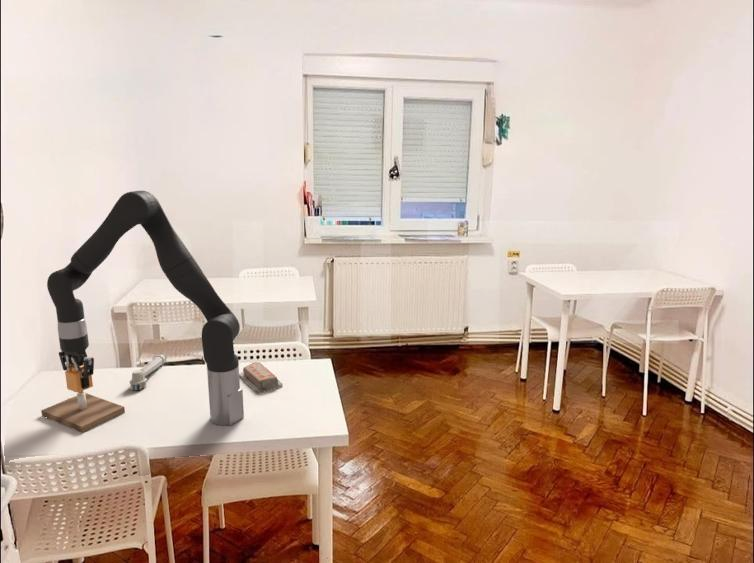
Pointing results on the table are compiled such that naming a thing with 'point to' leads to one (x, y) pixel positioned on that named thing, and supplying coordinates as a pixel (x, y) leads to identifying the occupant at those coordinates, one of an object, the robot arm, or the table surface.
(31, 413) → the table surface
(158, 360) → the gray handled tool
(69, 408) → the board
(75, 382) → the orange rounded block
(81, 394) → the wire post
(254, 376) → the packaged product
